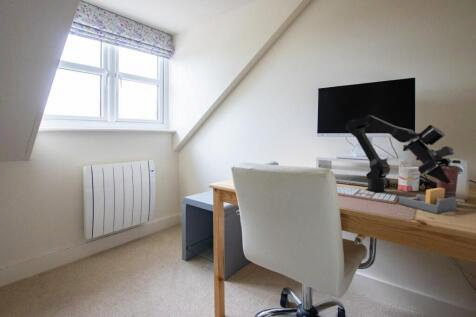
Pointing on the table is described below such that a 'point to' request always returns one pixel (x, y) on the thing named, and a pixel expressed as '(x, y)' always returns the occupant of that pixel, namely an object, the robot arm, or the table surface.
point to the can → (452, 176)
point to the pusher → (434, 195)
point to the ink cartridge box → (408, 177)
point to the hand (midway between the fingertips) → (451, 182)
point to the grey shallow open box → (420, 204)
